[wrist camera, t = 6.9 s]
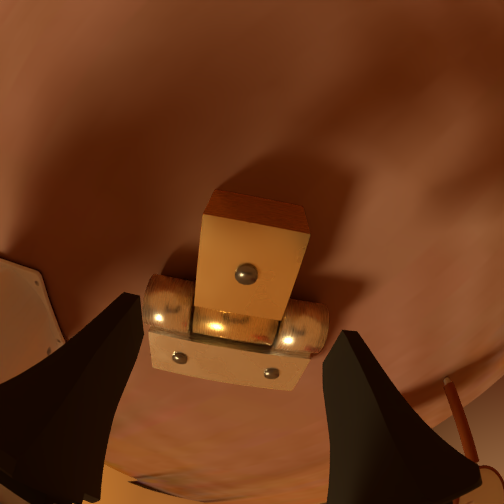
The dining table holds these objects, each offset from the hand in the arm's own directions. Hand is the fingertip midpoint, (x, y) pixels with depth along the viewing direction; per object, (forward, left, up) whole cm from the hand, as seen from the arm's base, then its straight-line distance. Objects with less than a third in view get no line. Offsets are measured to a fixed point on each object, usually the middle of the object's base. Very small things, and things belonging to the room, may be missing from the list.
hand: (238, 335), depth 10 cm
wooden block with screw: (-1, 0, -7) cm, 7 cm away
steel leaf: (-6, 0, -6) cm, 9 cm away
